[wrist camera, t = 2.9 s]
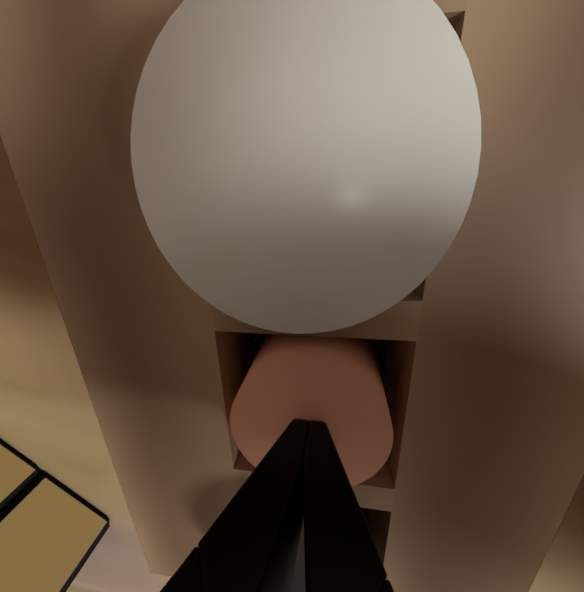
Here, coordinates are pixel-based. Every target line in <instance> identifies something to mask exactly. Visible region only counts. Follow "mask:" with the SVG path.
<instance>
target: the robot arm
mask: <svg viewBox="0 0 584 592" xmlns="http://www.w3.org/2000/svg"><path fill="white" fill-rule="evenodd" d="M303 518H304V553H305V592H394V590H393V587H392V585H391V582H390V581H389V580H387V573H386V571H385V568H384V566H383V563H382V561H381V558H380V556H379V553H378V551H377V548H376V546H375V543H374V541H373V538H372V536H371V533H370V531H369V528H368V526H367V523H366V521H365V518H364V516H363V513H362V511H361V508H360V506H359V503H358V501H357V498H356V496H355V493H354V491H353V488H352V486H351V484H350V481H349V479H348V476H347V474H346V471H345V469H344V466H343V464H342V461H341V459H340V456H339V454H338V451H337V449H336V446H335V444H334V441H333V439H332V436H331V434H330V431H329V429H328V426H327V424H326V423H325V422H324V421H315V420H311V421H310V422H309V421H308V420H305V419H293V420H292V421H291V422H290V423H289V425H288V426H287V427H286V429H285V430H284V431H283V433H282V434H281V435H280V437H279V438H278V439H277V440H276V442H275V443H274V444H273V446H272V447H271V448H270V450H269V451H268V452H267V454H266V455H265V456H264V457H263V459H262V460H261V461H260V463H259V464H258V465H257V467H256V468H255V469H254V471H253V472H252V473H251V474H250V476H249V477H248V478H247V480H246V481H245V482H244V484H243V485H242V486H241V488H240V489H239V490H238V491H237V493H236V494H235V495H234V497H233V498H232V499H231V501H230V502H229V503H228V505H227V506H226V507H225V508H224V510H223V511H222V512H221V514H220V515H219V516H218V518H217V519H216V520H215V522H214V523H213V524H212V525H211V527H210V528H209V529H208V531H207V532H206V533H205V535H204V536H203V537H202V539H201V540H200V541H199V543H198V547H195V548H194V549H193V550H192V551H191V553H190V554H189V555H188V557H187V558H186V559H185V560H184V562H183V563H182V564H181V566H180V567H179V568H178V570H177V571H176V572H175V573H174V575H173V576H172V577H171V578H170V580H169V581H168V582H167V583H166V585H165V586H164V587H163V588H162V590H161V591H160V592H290V590H291V585H292V579H293V574H294V569H295V563H296V558H297V553H298V547H299V542H300V537H301V531H302V525H303Z"/></svg>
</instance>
